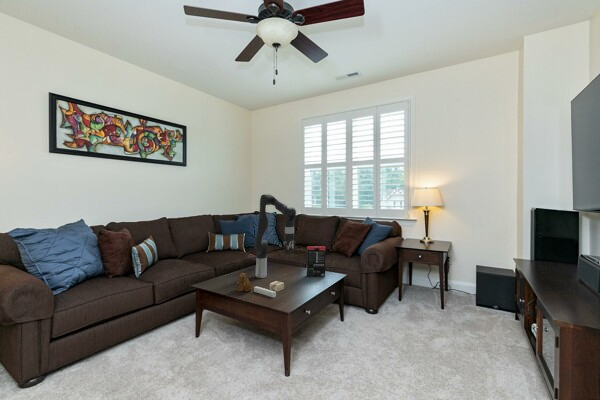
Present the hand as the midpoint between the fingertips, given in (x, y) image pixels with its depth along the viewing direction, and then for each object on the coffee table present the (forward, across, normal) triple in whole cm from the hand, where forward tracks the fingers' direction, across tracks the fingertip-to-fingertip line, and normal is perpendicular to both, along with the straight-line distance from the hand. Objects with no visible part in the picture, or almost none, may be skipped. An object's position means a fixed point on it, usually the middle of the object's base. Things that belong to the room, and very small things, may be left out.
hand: (289, 253), depth 224 cm
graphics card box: (+28, -38, 0) cm, 47 cm away
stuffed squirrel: (+28, +26, -23) cm, 45 cm away
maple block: (+28, +10, -5) cm, 30 cm away
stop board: (+27, +23, -5) cm, 36 cm away
